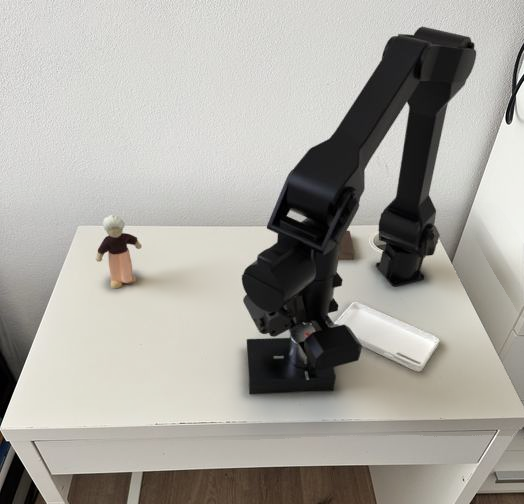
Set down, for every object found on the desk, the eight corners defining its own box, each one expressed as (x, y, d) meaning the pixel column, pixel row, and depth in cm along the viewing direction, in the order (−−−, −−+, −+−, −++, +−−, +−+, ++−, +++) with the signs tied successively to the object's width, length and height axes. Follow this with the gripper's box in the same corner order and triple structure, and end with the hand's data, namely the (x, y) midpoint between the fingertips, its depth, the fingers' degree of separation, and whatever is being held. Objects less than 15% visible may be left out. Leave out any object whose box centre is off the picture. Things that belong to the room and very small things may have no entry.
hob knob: (282, 353, 77) (283, 329, 73) (306, 341, 78) (309, 317, 75) (300, 372, 74) (303, 348, 71) (325, 360, 76) (329, 336, 73)
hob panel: (326, 348, 82) (329, 334, 80) (335, 392, 76) (338, 377, 74) (246, 351, 81) (246, 336, 79) (249, 395, 75) (249, 381, 73)
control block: (348, 238, 102) (351, 222, 100) (353, 260, 97) (356, 244, 95) (285, 237, 102) (286, 221, 99) (287, 259, 97) (288, 243, 95)
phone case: (438, 344, 83) (353, 306, 89) (441, 338, 82) (354, 300, 88) (419, 373, 79) (330, 331, 84) (421, 367, 78) (331, 325, 83)
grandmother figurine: (111, 295, 89) (96, 230, 80) (100, 284, 91) (83, 219, 82) (150, 276, 93) (140, 212, 84) (138, 266, 95) (127, 202, 86)
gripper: (226, 236, 69) (229, 324, 80) (281, 332, 57) (275, 420, 68) (305, 221, 72) (297, 308, 83) (373, 309, 60) (353, 397, 71)
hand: (303, 354), depth 76 cm, fingers open, 6 cm apart
